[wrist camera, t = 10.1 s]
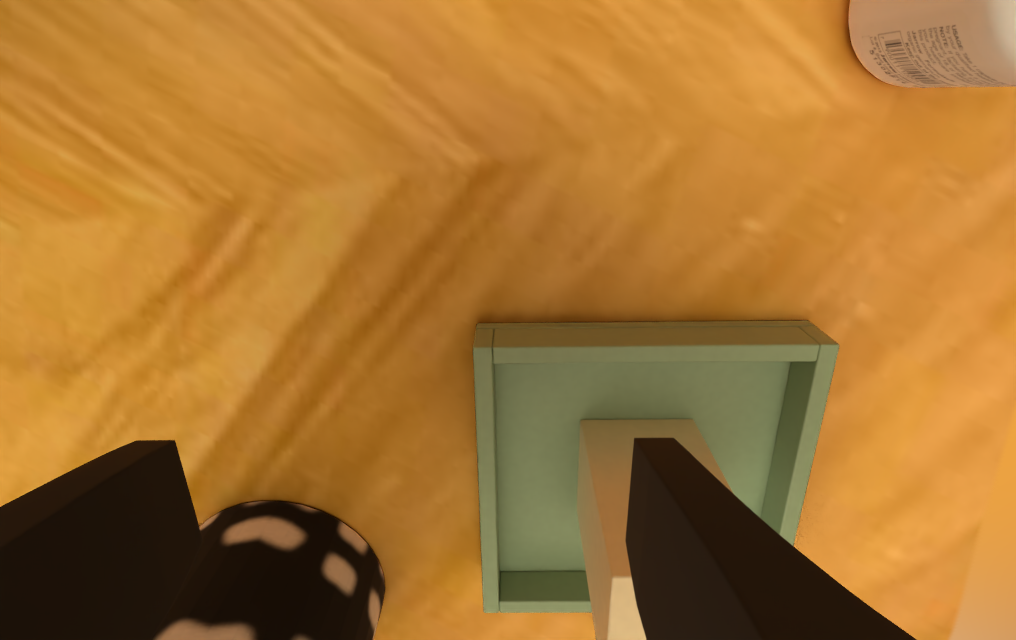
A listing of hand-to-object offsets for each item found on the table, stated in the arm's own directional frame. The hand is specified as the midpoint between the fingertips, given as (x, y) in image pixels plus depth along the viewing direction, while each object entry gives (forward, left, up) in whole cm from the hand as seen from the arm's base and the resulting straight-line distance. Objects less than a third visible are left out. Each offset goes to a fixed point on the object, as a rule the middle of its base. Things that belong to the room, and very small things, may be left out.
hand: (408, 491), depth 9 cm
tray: (+6, -7, -10) cm, 14 cm away
